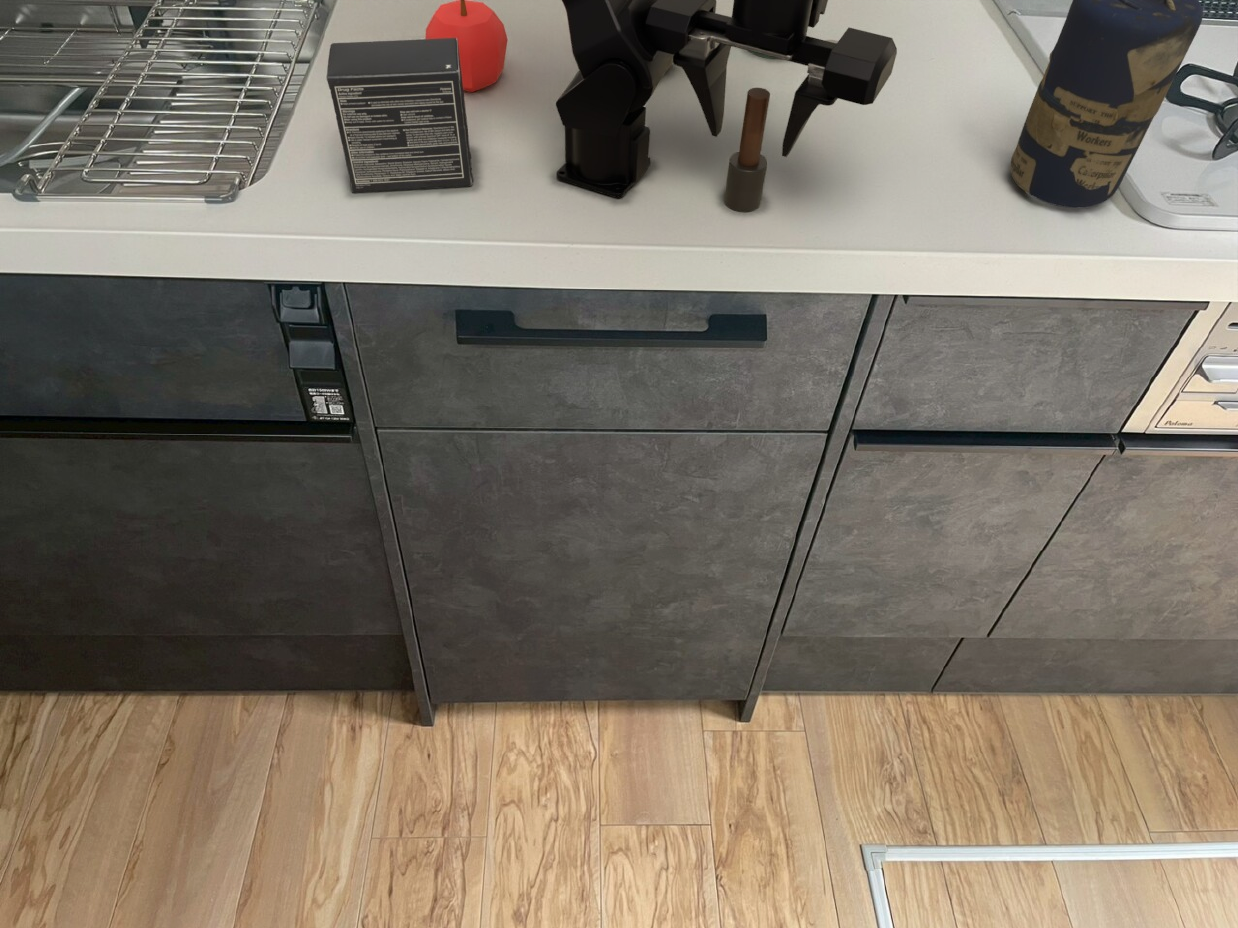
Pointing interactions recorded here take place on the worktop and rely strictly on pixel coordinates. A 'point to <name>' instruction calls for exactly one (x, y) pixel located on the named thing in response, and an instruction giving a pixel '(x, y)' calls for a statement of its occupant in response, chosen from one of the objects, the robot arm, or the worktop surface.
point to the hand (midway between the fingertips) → (750, 144)
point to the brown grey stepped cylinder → (749, 156)
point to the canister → (1100, 96)
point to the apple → (472, 40)
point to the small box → (401, 113)
